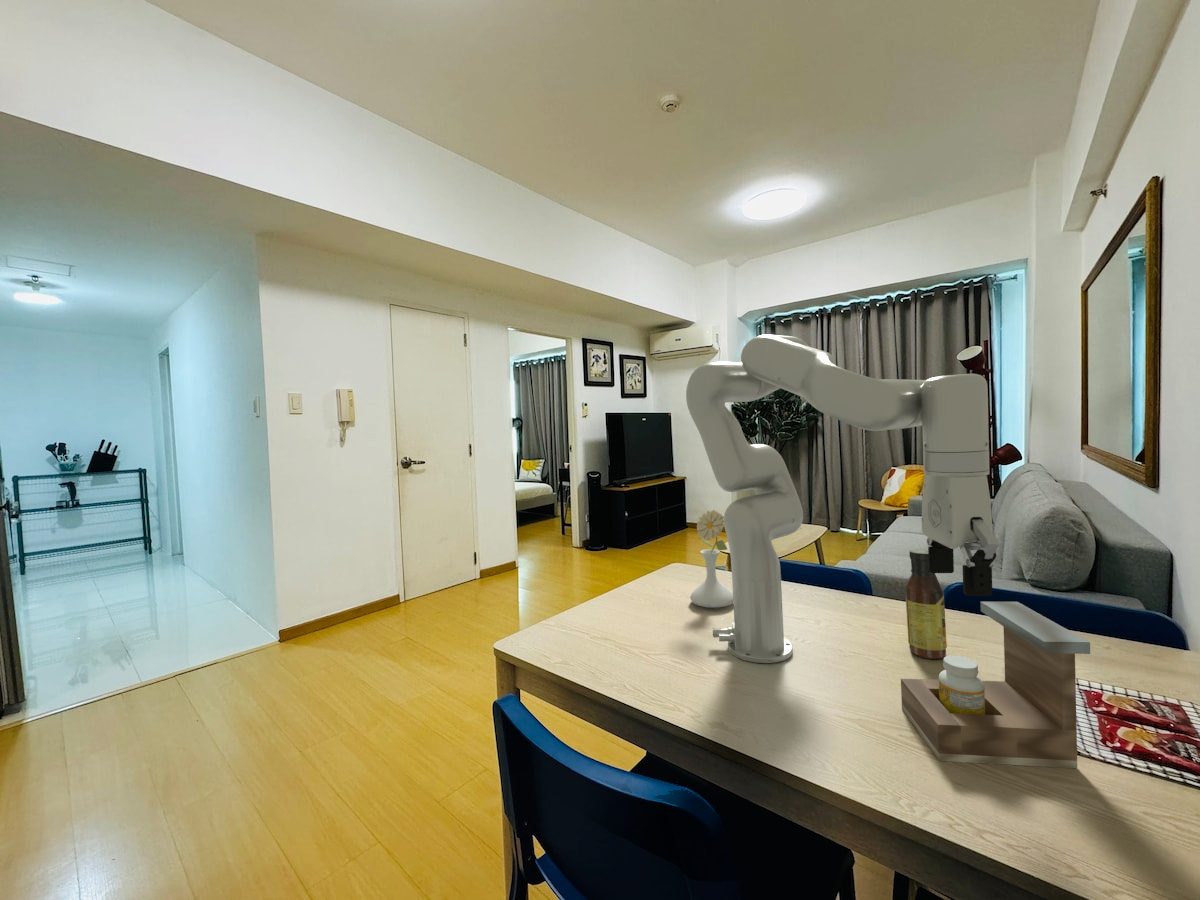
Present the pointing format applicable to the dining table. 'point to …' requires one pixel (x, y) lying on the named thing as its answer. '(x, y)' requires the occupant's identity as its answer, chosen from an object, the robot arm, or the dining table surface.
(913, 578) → the sauce bottle
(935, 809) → the dining table surface
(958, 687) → the supplement bottle
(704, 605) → the flower in vase
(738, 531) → the robot arm
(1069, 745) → the socket block
